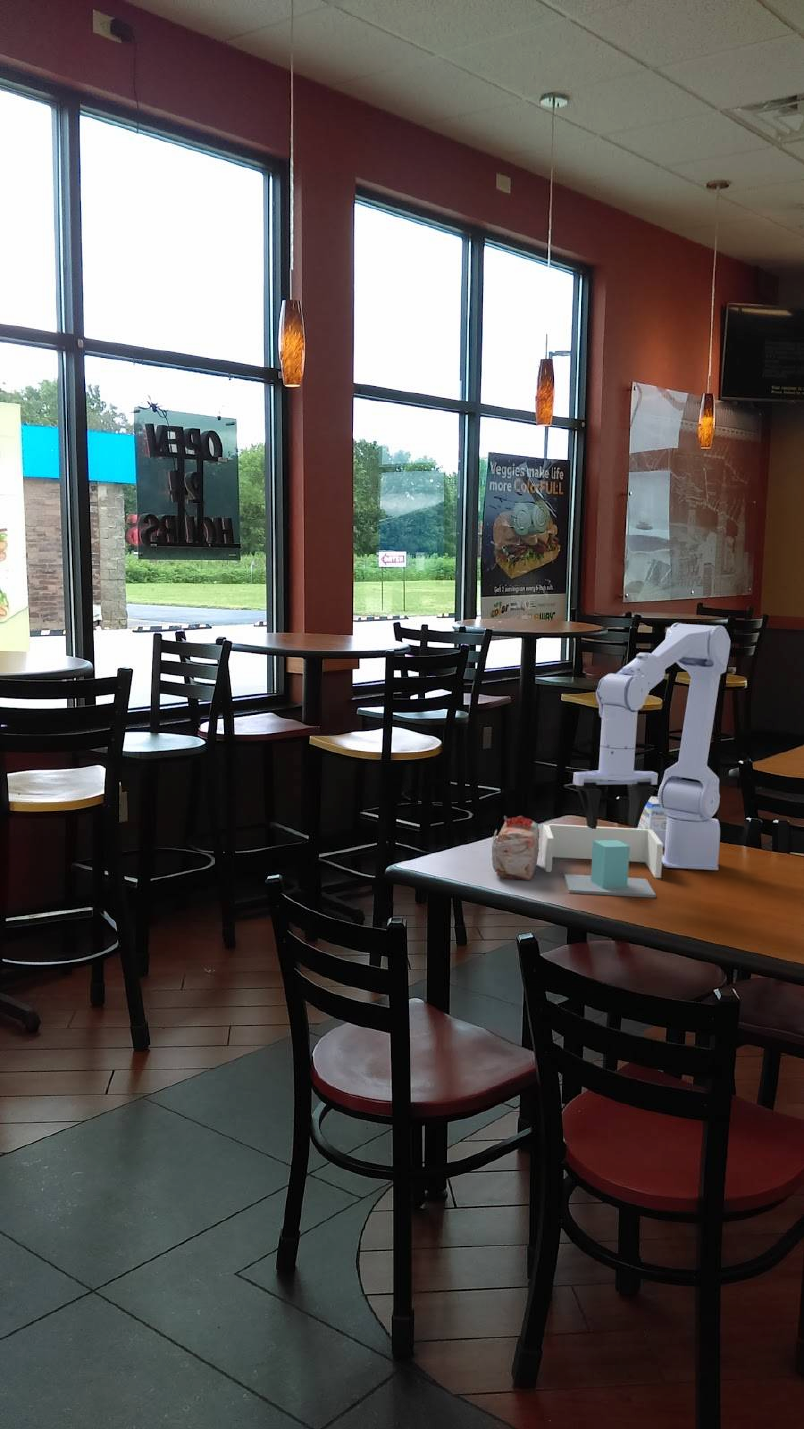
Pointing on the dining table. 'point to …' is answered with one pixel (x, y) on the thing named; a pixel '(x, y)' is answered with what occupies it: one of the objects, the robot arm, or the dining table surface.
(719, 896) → the dining table surface
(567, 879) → the slate mat
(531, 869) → the food item
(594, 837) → the open folding screen
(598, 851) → the teal block
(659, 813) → the medicine box
